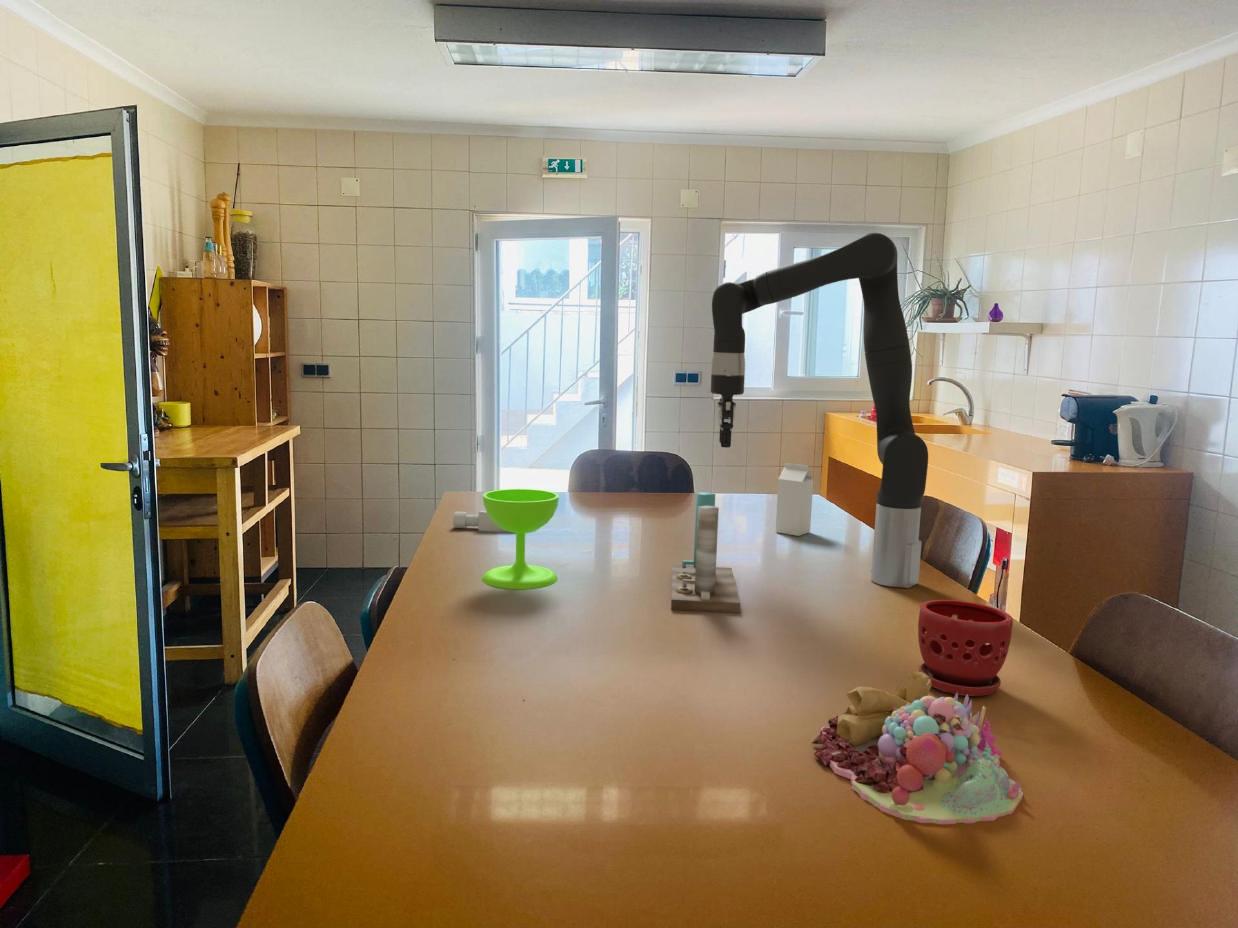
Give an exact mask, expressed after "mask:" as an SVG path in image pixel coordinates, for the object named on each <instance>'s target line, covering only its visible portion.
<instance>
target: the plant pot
mask: <svg viewBox="0 0 1238 928" xmlns="http://www.w3.org/2000/svg"><path fill="white" fill-rule="evenodd" d="M919 607H920V608H919V612H918V613H919V614H918V622H917V623H918V624H917V634H918V635H917V636H918V646H919V650H920V654H921V658H922V660H923V663H921V664H920V665H919V669H918V672H923V673H924V674H926V675H927V676H928V677H929V679H931V687H933V688H935V689H937V690H938V691H942V692H945V693H948V694H951V695H953V696H955V695H956V693H958V697H959V696H965V697H966V695H967V694H968V697H980V696H986V695H990V694H993V693H995V692H996V691H997V690H998V689H999V688H1000V686H1001V684H1002V682H1001V681H1002V680H1001V678H1000V677H999V675H998V673H999V672H1000V671H1001V669H1002V668H1003V665H1004V663H1005V662H1006V659H1007V656H1008V653H1009V649H1010V644H1011V640H1012V639H1011V638H1012V633H1013V625H1014V624H1013V623H1014V619H1013V617H1012V616H1011V614H1010V613H1008V612H1006V611H1004V610H1001V609H999V608H996V607H993V606H990V605H986V604H981V603H977V602H971V601H965V600H964V601H963V600H957V599H955V600H952V599H935V600H927V601H924V602H922V603H921V605H920V606H919ZM952 616H957V618H954V617H952Z"/></svg>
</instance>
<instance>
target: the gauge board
mask: <svg viewBox="0 0 1238 928" xmlns="http://www.w3.org/2000/svg"><path fill="white" fill-rule="evenodd" d="M719 509H720V508H719V507H717V506H716V505H715V506H699V507H698V520H697V544H696V568H694V567H693V565H686V568H682V565H679V564H678V565H677V564H675V565H674V564H672V566H671V567H672V568H671V599H670V601H671V602H670V603H671V604H670V605H671V606H670V610H673V611H689V612H691V611H693V612H694V611H695V612H711V613H712V612H713V613H715V612H716V613H729V614H730V613H732V614H734V613H735V614H740V611H741V610H740V609H741V607H740V605H741V601H740V597H739V593H738V590H737V585H736V582H735V578H734V577H735V576H734V571H733V569H732V567H725V566H724V567H723V566H722V567H719V566H717V557H718V556H717V553H718V550H717V549H718V532H719V531H718V530H719V529H718V527H719Z"/></svg>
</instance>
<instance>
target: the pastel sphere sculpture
mask: <svg viewBox="0 0 1238 928" xmlns="http://www.w3.org/2000/svg"><path fill="white" fill-rule="evenodd" d="M931 688H932V686H931V679H929V677H928V676H927V675H926V674H924V673H923V672H919V671H911V672H909V673H908V674H907V676H906V680H905V688H904V687H903V686H901V685H897V688H896V690H895V694H893V693H891V692H889V691H885V690H881V689H878V688H874V687H871V686H869V687H868V686H857V687H856V688H854V689H852V690H850V691H849V692H847V693H846V696H847V698H848V700H849V701H850V703H851V705H849V706H848V708H847V709H846V710H845V712H844V713H842V714H841V715H837V716H835V717H833V718H830V719H829V720H828V721H827V723H828V725H829V726H822V727H821V728H820V733H819V735H818V736H816V737H815V739H814V740H813V741H812V742H811V744H812V745H813V744H814V745H822V746H821V747H819V749H817V750H816V751H815V752H814V753H813V755H814V756H815V757H816V758H817V759H818V760H819V761H820V762H821V763H822V764H823V765H824V766H829V767H830V768H831V770H832V771H833V773H834V774H836V775H838V776H840V777H843V778H846V779H849V780H850V785H851V789H852V790H853V791H854V792H856V793H857V794H858V795H859V796H860V798H861V800H864V801H867V802H869V803H870V804H871V805H872V806H874V807H876V808H878V810H879V811H881V812H883V813H886V814H888V815H891V816H894V817H896V818H899V819H902V820H906V821H915V822H917V823H920V824H937V825H956V824H959V823H962V824H975V823H977V822H989V821H991V822H992V821H993V822H994V821H995V820H997V819H998V818H999V817H1004V816H1007V815H1012V814H1013V813H1014V811H1015V810H1016V809H1017V807H1018V805H1019V804H1020V802H1022V801H1021V800H1022V799H1023V797H1024V792H1023V791H1022V790H1021V785H1020V781H1018V780H1016V781H1014V780H1012V779H1011V778H1010V777H1009V774H1008V773H1007V771H1006V770H1005V769H1004V768H1003V767H1002V766H1001V765H1000V764H1001V761H1000V758H1001V754H1002V752H1001V749H1000V748H998V747H996V746H995V745H994V742H995V741H996V737H995V735H994V734H992V733H991V724H990V721H988V717H985V715H986V710H987V707H986V706H985V705H984V706H982V708H981V711H979V710H978V711H977V713H975V714H974V715H973V710H972V708H973V701H972V700H973V699H970V696H968V694H967V695H966V696H965V697H964V701H963V704H962V702H960V701H958V700H959V696H958V693H956V695H954V697H952V696H940V697H939V698H936V697H935V696H933V695H929V694H930V691H931ZM969 699H970V701H969ZM968 702H969V703H968ZM984 719H985V724H983V722H984Z"/></svg>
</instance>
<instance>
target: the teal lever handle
mask: <svg viewBox="0 0 1238 928" xmlns="http://www.w3.org/2000/svg"><path fill="white" fill-rule="evenodd" d="M695 496H696V497H695V500H696V501H695V516H694V517H695V519H694V520H695V521H694V523H695V525H694V545H693V546H694V547H693V560H684V559H683V560H682V563H681V566H682V568H686V566H693V567H694V568H696V544H697V520H698V507H699V506H715V507H716V493H712V492H706V491H705V492H704V491H703V492H696V494H695Z"/></svg>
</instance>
